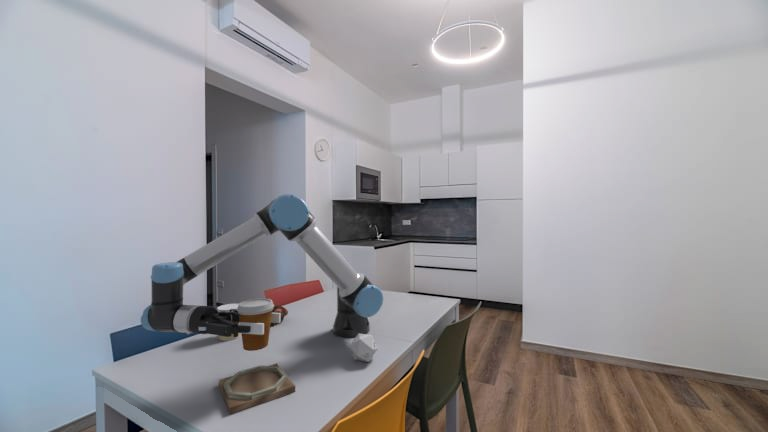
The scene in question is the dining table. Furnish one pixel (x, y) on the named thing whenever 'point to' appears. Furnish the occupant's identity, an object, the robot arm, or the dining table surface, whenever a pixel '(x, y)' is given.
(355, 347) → the die
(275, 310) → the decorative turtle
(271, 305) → the disposable coffee cup
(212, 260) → the robot arm
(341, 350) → the dining table surface
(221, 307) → the coffee cup
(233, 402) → the cup holder board
